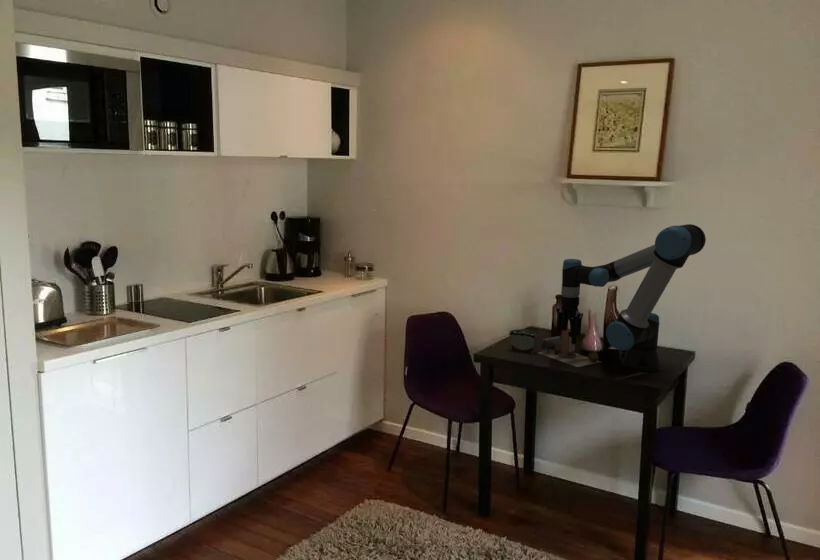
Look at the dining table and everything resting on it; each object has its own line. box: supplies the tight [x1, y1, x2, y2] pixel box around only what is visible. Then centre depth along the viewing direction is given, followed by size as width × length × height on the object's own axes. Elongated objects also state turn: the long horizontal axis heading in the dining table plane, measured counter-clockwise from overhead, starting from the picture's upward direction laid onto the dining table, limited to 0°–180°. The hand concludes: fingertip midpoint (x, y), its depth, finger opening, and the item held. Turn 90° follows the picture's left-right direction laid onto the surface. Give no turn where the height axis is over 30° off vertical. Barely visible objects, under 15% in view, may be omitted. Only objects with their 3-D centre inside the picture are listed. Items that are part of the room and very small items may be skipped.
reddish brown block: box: [559, 328, 577, 359], centre depth 294 cm, size 5×5×12 cm
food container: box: [508, 328, 538, 355], centre depth 302 cm, size 12×6×10 cm, turn 63°
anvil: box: [540, 335, 561, 356], centre depth 300 cm, size 7×10×6 cm
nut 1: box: [554, 344, 561, 354], centre depth 299 cm, size 4×4×4 cm
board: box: [537, 351, 602, 368], centre depth 294 cm, size 24×14×1 cm, turn 33°
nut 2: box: [587, 350, 599, 362], centre depth 288 cm, size 4×4×4 cm
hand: (567, 349), depth 294 cm, fingers closed on reddish brown block, 4 cm apart
